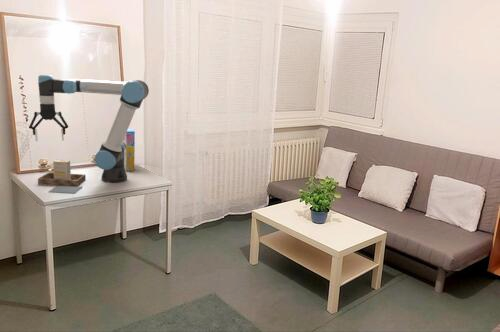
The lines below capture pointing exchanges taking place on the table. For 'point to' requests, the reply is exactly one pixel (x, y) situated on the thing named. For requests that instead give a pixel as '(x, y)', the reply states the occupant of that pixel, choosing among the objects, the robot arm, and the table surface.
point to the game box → (129, 150)
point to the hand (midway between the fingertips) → (49, 140)
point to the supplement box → (62, 169)
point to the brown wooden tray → (61, 180)
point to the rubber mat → (65, 189)
